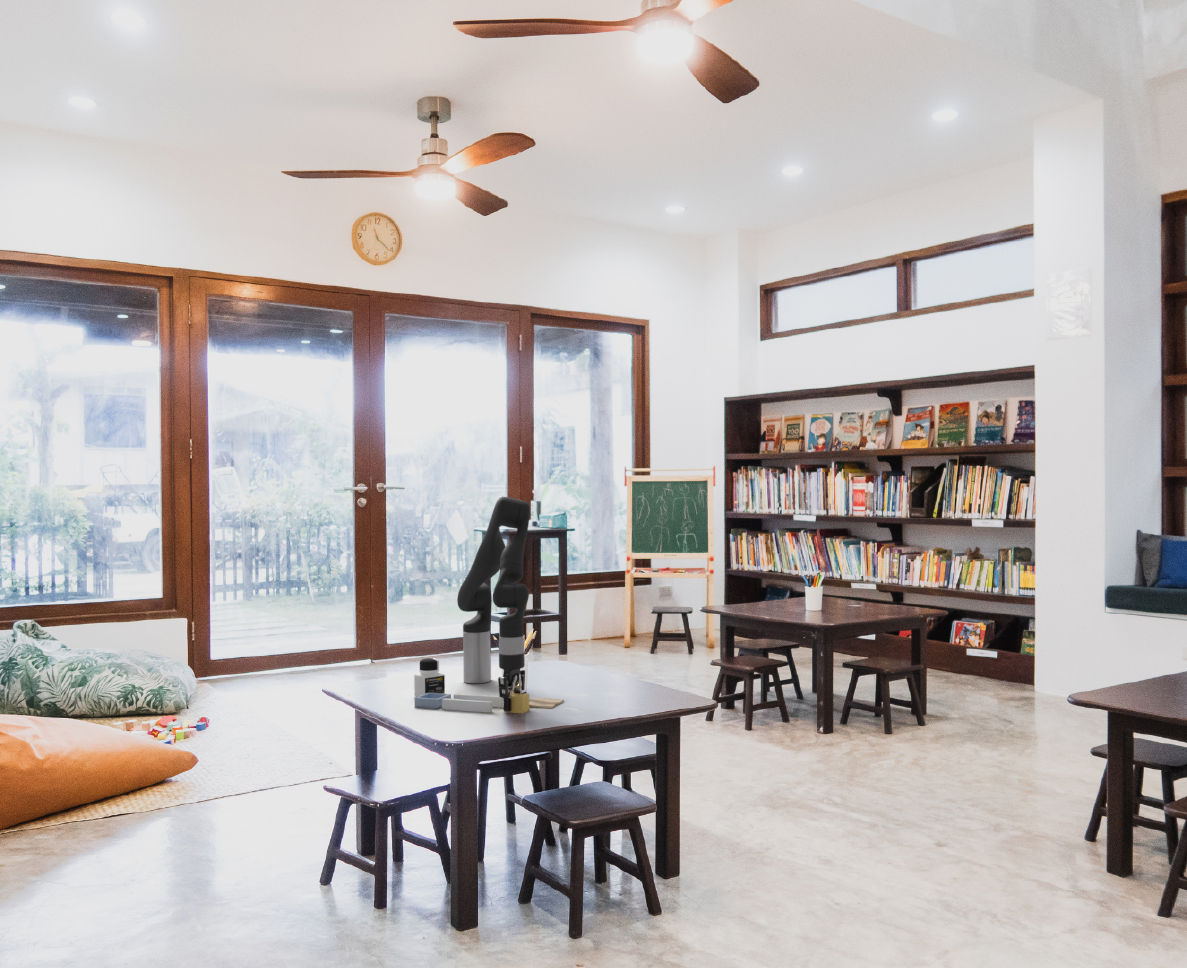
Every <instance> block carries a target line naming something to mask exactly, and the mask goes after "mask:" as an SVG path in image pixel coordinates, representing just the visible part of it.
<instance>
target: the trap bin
mask: <svg viewBox="0 0 1187 968" xmlns="http://www.w3.org/2000/svg"><path fill="white" fill-rule="evenodd" d="M444 698H445V699H452V694H450V693H445V694H440V693H426V694H423V695H421V696H418V697H414V708H421V709H433V710H434V709H435V710H439V709H442V699H444Z"/></svg>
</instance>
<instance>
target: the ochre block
mask: <svg viewBox="0 0 1187 968" xmlns="http://www.w3.org/2000/svg"><path fill="white" fill-rule="evenodd" d="M529 700H530V694H529V693H521V694H519V693H513V692H512V696H511V711H510V712H509V713H512V714H525V713H526V712H527V713H528V712H529V711H530V707H529ZM503 711H504V710H503ZM504 713H508V712H507V711H504Z"/></svg>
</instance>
